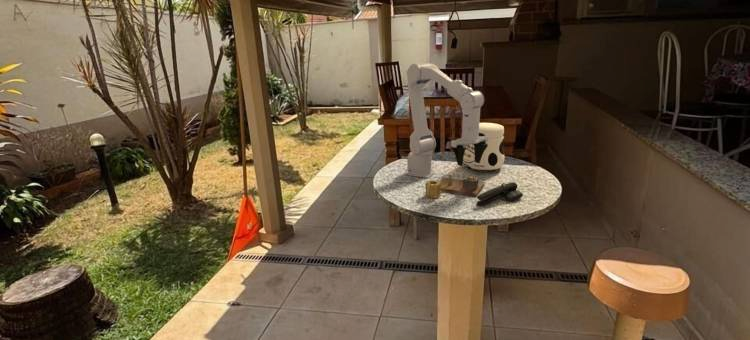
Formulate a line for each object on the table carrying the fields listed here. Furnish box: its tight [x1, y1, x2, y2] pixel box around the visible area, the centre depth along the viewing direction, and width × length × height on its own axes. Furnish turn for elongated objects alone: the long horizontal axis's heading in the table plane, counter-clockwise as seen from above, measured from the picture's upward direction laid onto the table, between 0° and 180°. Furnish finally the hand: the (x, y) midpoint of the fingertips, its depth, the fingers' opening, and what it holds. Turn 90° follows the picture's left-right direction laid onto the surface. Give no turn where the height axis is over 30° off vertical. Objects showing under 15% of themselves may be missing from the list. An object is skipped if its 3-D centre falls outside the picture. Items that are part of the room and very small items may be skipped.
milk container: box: [462, 122, 505, 172], centre depth 162 cm, size 17×17×18 cm
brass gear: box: [425, 179, 442, 199], centre depth 136 cm, size 5×5×5 cm
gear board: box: [439, 173, 485, 198], centre depth 142 cm, size 16×11×5 cm
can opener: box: [476, 181, 524, 207], centre depth 131 cm, size 18×7×6 cm, turn 115°
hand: (468, 163), depth 139 cm, fingers open, 7 cm apart
